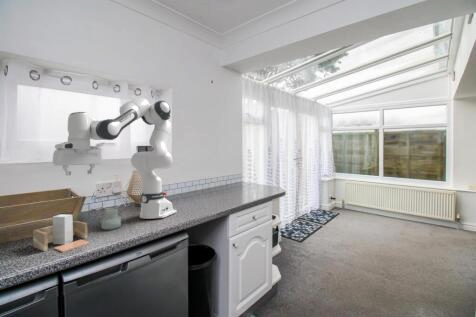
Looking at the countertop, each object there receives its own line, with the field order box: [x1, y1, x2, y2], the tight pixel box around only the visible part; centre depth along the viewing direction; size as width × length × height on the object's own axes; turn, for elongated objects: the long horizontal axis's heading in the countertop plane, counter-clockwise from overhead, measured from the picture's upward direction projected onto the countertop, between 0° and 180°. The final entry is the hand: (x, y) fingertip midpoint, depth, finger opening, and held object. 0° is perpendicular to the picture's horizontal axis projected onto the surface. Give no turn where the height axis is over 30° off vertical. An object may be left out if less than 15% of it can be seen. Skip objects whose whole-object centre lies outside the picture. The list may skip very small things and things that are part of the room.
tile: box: [53, 239, 91, 253], centre depth 94 cm, size 10×7×1 cm
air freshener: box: [101, 207, 122, 231], centre depth 117 cm, size 11×8×10 cm
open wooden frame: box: [32, 219, 88, 252], centre depth 99 cm, size 16×10×7 cm, turn 152°
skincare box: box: [52, 214, 74, 245], centre depth 98 cm, size 6×4×12 cm
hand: (79, 174), depth 108 cm, fingers open, 8 cm apart
